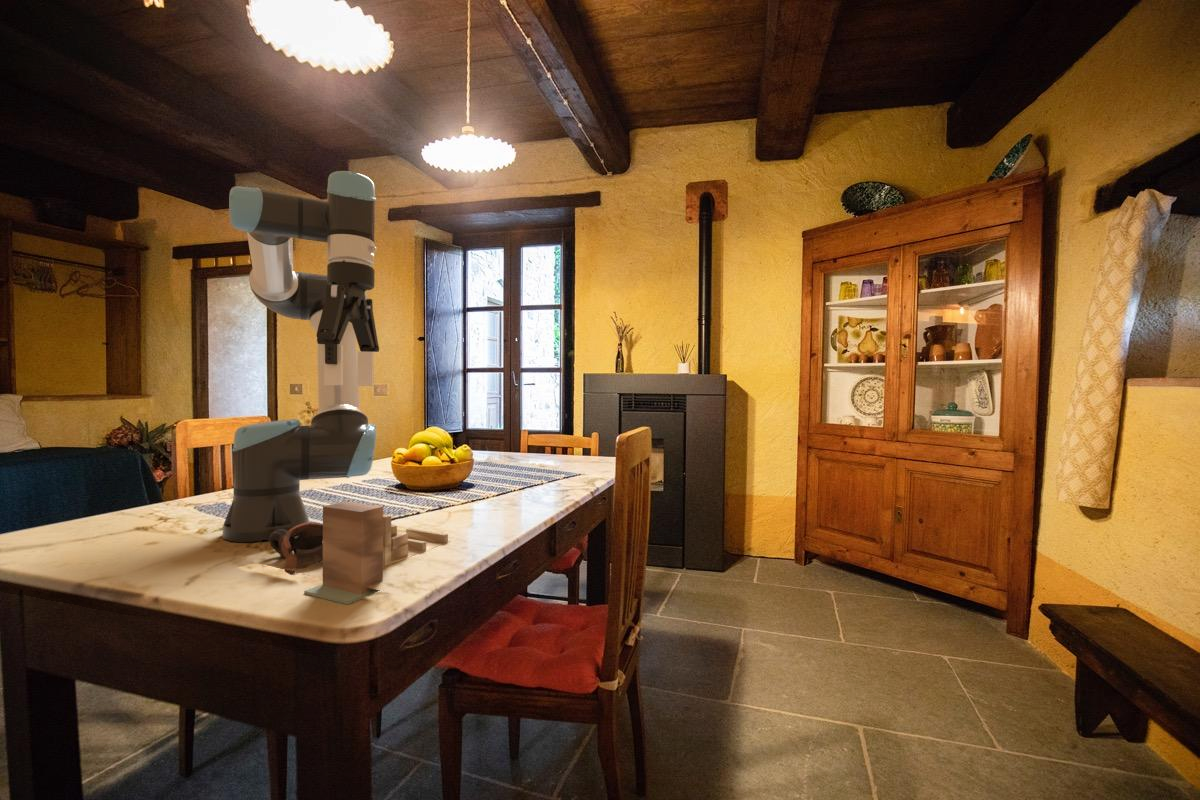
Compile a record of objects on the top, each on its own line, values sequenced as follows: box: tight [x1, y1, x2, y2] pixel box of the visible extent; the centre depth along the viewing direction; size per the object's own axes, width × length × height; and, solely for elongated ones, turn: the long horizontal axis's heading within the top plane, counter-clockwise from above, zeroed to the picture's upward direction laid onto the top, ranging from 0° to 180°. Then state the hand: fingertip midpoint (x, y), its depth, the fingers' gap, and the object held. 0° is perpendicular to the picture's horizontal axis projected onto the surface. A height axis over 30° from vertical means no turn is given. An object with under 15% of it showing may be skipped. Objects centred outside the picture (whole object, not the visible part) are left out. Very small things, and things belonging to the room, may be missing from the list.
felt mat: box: [304, 583, 381, 605], centre depth 79 cm, size 9×9×1 cm
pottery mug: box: [268, 521, 323, 576], centre depth 89 cm, size 12×10×8 cm
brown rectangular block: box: [322, 501, 384, 595], centre depth 79 cm, size 4×8×12 cm, turn 66°
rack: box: [383, 514, 452, 567], centre depth 95 cm, size 16×10×9 cm, turn 156°
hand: (350, 385), depth 92 cm, fingers open, 13 cm apart
